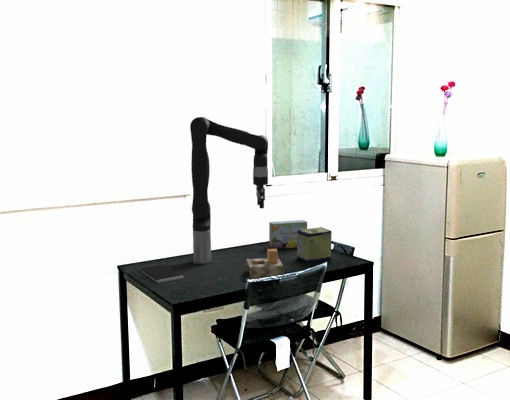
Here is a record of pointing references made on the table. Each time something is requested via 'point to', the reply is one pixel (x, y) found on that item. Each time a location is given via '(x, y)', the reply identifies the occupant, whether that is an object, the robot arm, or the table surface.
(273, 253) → the keyhole peg
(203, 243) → the robot arm
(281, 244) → the snack box
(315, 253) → the protein box
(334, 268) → the table surface
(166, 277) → the smartphone
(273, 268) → the shelf
